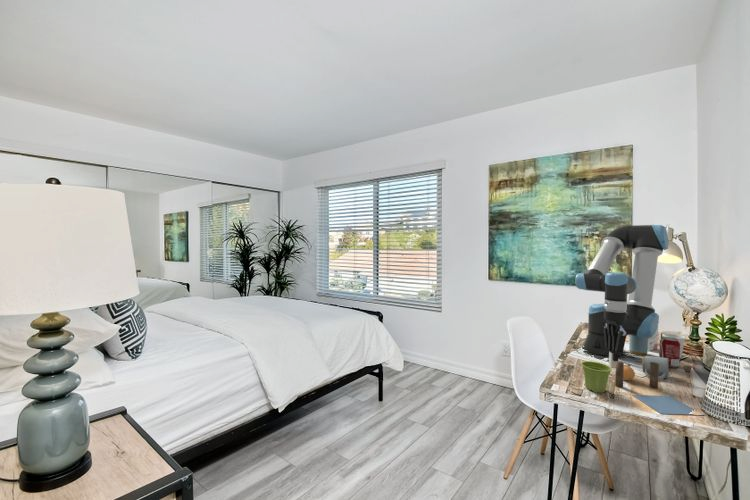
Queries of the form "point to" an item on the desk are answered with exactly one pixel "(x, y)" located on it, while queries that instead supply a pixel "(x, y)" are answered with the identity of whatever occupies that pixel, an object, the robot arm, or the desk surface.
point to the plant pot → (596, 375)
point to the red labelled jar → (670, 350)
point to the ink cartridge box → (653, 341)
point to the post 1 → (619, 374)
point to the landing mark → (665, 404)
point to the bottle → (638, 345)
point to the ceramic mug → (662, 366)
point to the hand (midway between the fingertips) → (613, 367)
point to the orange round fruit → (628, 373)
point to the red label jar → (680, 340)
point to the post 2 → (654, 375)
